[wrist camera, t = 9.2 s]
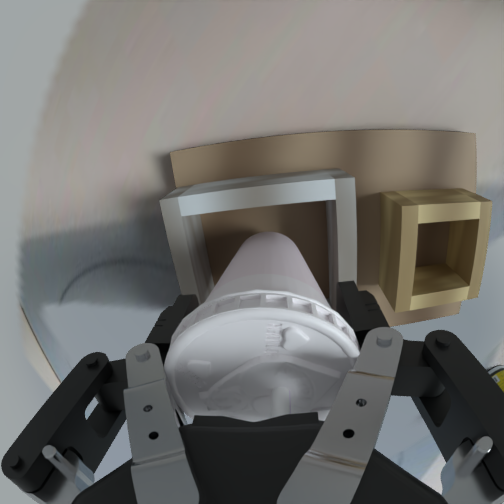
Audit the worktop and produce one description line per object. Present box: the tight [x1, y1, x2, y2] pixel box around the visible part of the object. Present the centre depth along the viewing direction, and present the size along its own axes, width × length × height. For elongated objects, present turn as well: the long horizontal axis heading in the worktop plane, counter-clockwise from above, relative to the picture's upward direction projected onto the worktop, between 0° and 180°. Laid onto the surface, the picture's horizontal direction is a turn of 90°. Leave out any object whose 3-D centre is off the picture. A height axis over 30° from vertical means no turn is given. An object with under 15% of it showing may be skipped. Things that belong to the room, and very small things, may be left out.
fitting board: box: [159, 129, 492, 327], centre depth 18 cm, size 20×14×5 cm
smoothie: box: [164, 232, 361, 422], centre depth 11 cm, size 6×6×14 cm
